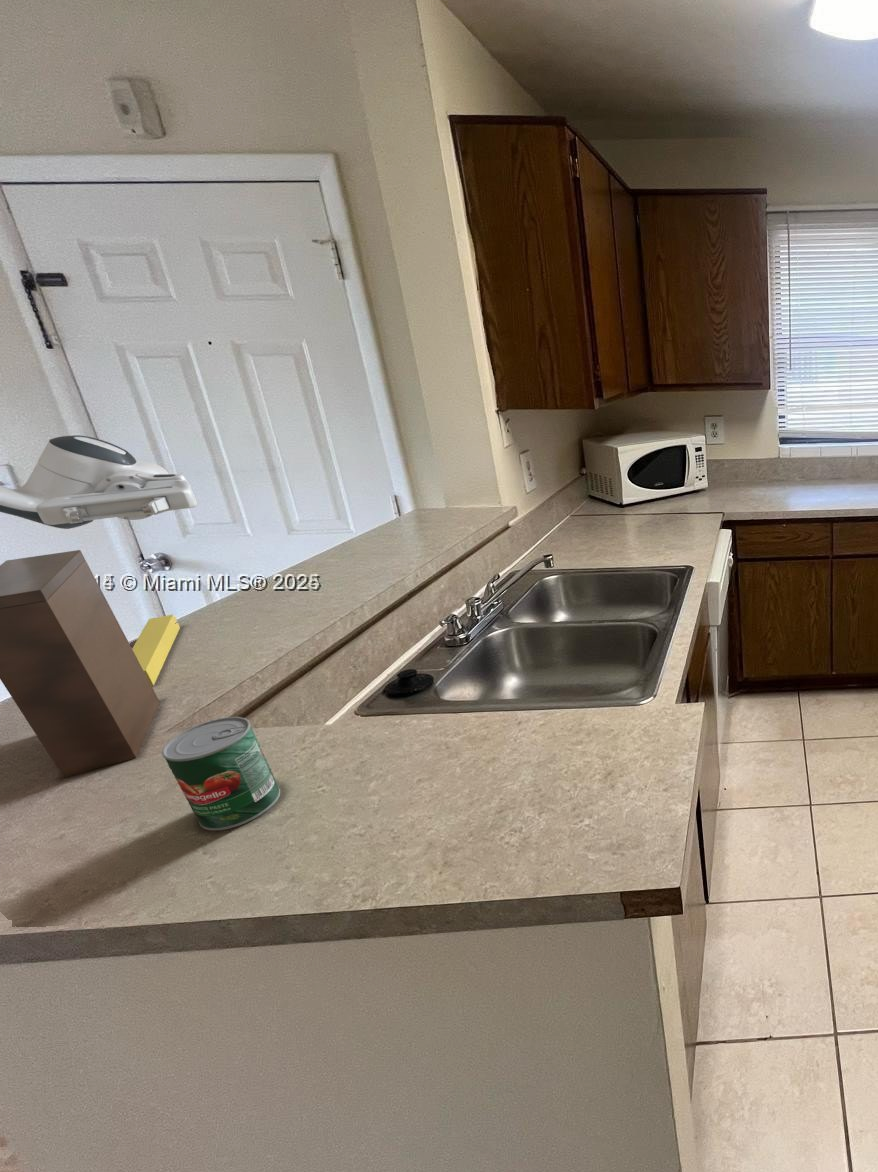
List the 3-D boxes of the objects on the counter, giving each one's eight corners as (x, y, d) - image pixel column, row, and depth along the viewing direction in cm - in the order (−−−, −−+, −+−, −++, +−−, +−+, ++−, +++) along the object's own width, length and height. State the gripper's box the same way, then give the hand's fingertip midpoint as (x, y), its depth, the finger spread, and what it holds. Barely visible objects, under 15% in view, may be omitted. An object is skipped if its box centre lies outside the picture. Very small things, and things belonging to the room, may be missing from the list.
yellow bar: (124, 692, 99) (115, 676, 98) (155, 632, 117) (148, 618, 116) (153, 685, 101) (145, 670, 100) (180, 627, 119) (173, 614, 118)
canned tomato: (192, 841, 72) (151, 768, 67) (207, 799, 78) (170, 730, 74) (277, 814, 76) (244, 743, 71) (284, 776, 82) (254, 709, 77)
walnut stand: (63, 777, 81) (-49, 604, 71) (97, 717, 93) (5, 560, 82) (136, 757, 85) (40, 589, 74) (160, 701, 97) (80, 549, 86)
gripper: (44, 488, 112) (14, 506, 101) (193, 473, 123) (180, 488, 112) (61, 520, 114) (34, 542, 104) (205, 503, 125) (194, 521, 115)
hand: (111, 514), depth 108 cm, fingers open, 8 cm apart
